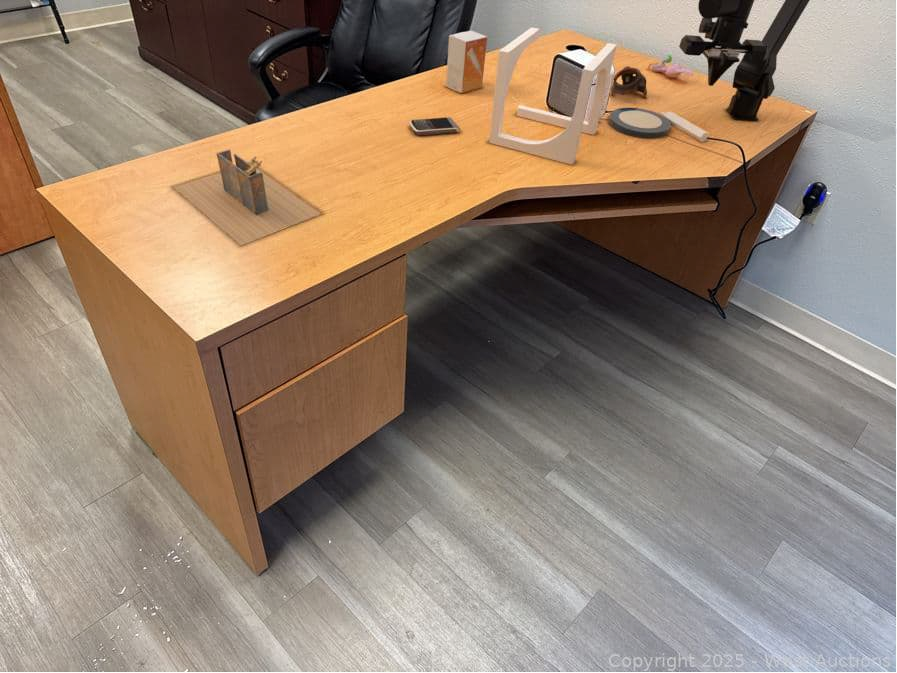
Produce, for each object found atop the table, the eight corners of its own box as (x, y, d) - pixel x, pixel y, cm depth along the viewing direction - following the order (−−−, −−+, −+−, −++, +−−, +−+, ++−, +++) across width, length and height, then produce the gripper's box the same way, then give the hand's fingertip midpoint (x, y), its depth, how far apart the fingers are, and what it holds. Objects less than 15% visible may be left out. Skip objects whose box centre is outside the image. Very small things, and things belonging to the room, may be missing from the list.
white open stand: (488, 142, 137) (499, 50, 124) (519, 112, 151) (531, 27, 137) (572, 164, 132) (592, 71, 118) (596, 132, 145) (616, 44, 132)
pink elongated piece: (643, 74, 181) (683, 83, 171) (646, 53, 178) (687, 60, 168) (657, 72, 184) (697, 80, 174) (660, 50, 181) (702, 58, 170)
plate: (661, 115, 156) (662, 109, 155) (675, 140, 145) (677, 134, 144) (603, 110, 155) (605, 105, 154) (614, 135, 144) (616, 129, 143)
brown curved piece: (652, 104, 162) (649, 79, 155) (617, 117, 165) (613, 93, 158) (641, 77, 168) (637, 52, 162) (607, 89, 171) (602, 66, 164)
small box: (461, 94, 158) (465, 41, 149) (445, 86, 161) (448, 34, 152) (482, 87, 162) (488, 36, 153) (466, 80, 165) (470, 29, 156)
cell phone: (407, 125, 141) (408, 119, 140) (452, 122, 144) (452, 116, 143) (415, 137, 137) (415, 131, 136) (460, 133, 140) (461, 127, 139)
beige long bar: (659, 118, 156) (703, 143, 146) (654, 114, 155) (698, 140, 144) (665, 108, 155) (710, 133, 145) (661, 105, 154) (706, 130, 143)
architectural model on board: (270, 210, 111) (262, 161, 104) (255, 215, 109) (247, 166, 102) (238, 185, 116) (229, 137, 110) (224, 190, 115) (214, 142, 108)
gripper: (762, 7, 140) (736, 75, 150) (684, 1, 139) (663, 70, 150) (781, 21, 132) (752, 92, 142) (698, 15, 131) (675, 87, 142)
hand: (710, 85), depth 144 cm, fingers closed
